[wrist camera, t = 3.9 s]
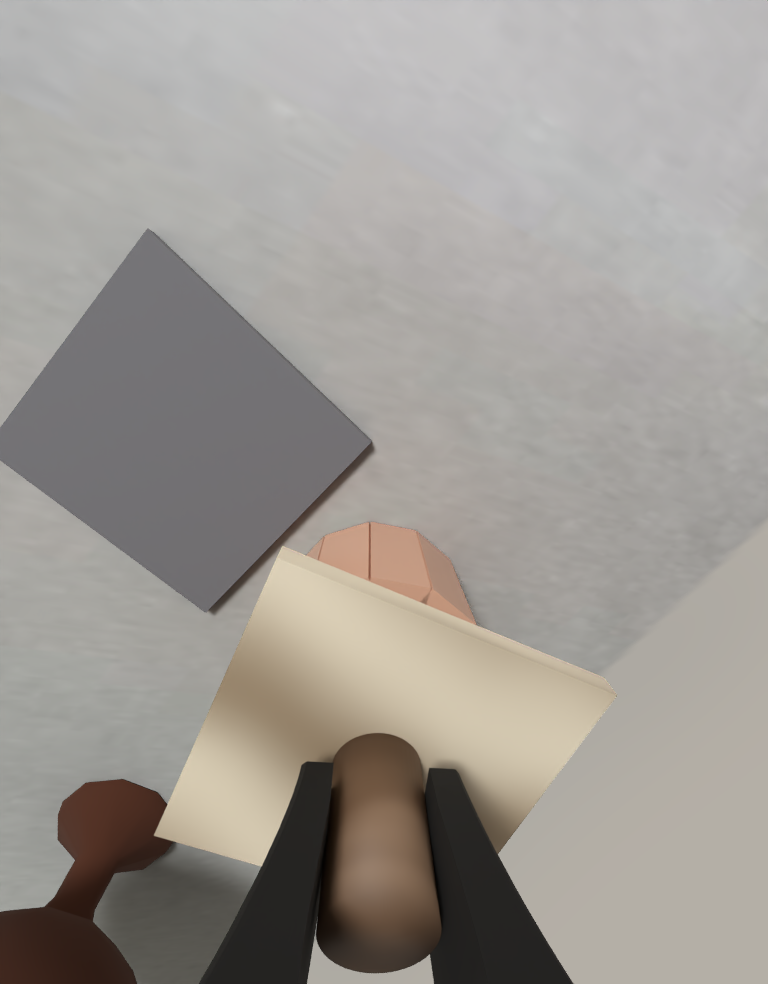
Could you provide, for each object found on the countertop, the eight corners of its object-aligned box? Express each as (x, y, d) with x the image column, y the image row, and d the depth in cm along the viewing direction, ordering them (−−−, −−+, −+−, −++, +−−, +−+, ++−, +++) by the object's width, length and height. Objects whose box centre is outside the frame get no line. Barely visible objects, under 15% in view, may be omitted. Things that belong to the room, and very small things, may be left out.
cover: (282, 545, 9) (227, 660, 6) (604, 677, 11) (723, 838, 7) (164, 812, 12) (69, 1018, 8) (444, 894, 13) (474, 1104, 9)
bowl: (432, 502, 17) (454, 551, 12) (476, 648, 19) (508, 734, 14) (263, 554, 17) (226, 619, 13) (324, 691, 19) (310, 788, 15)
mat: (153, 232, 14) (147, 228, 13) (371, 440, 16) (371, 442, 15) (-6, 446, 15) (-16, 448, 15) (209, 607, 18) (205, 612, 17)
